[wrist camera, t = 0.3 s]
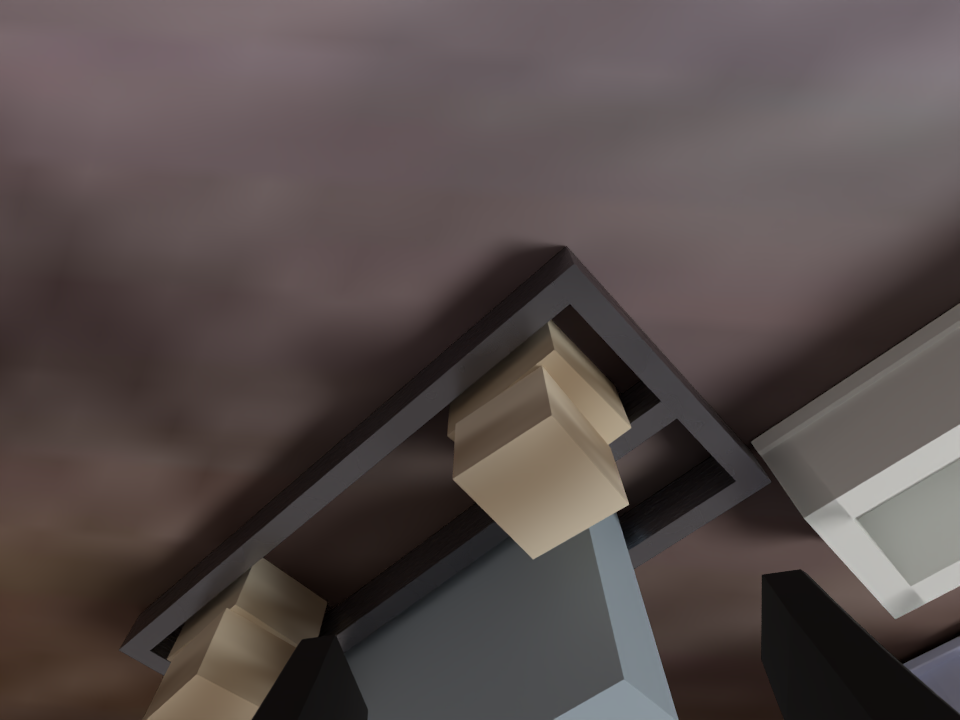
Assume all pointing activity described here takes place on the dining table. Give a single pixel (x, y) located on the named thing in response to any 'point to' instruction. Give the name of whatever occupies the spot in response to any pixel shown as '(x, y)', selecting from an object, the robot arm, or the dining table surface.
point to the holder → (884, 467)
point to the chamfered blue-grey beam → (522, 641)
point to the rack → (474, 530)
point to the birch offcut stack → (540, 442)
